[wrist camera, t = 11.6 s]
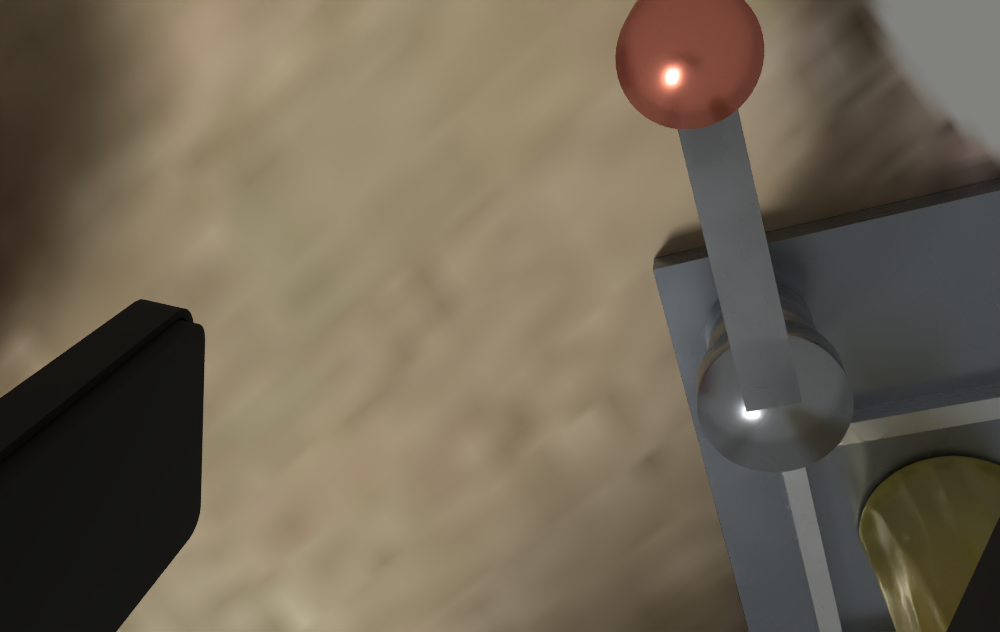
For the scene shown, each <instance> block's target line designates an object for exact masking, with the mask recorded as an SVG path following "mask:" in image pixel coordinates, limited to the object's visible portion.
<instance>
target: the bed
mask: <svg viewBox="0 0 1000 632" xmlns="http://www.w3.org/2000/svg"><path fill="white" fill-rule="evenodd" d="M765 235H766V240H767V244H768V249H769V253H770V258H771V262H772V267H773V271H774V276H775V281H776V285H777V290H778V294H779V299H780V303H781V308H782V312H783V317H784V319H787V320H792V321H796V322H799V323H802V324H804V325H806V326H809V327H811V328H813V329H814V330H816V331H817V332H819V333H820V334H821V335H823V336H824V337H825V338H826V339H827V340H828V341H829V342H830V343H831V344H832V345H833V347H834V348H835V350H836V351H837V353H838V355H839V357H840V359H841V361H842V364H843V366H844V369H845V372H846V374H847V377H848V380H849V383H850V386H851V389H852V393H853V400H854V407H853V415H852V420H851V423H850V426H849V428H848V430H847V432H846V434H845V436H844V437H843V439H842V440H841V442H840V443H839V444H838V445H837V446H836V447H835V448H834V450H833V451H831V452H830V453H829V454H828V455H826V456H825V457H824V458H822V459H821V460H819V461H817V462H815V463H813V464H811V465H809V466H807V467H804V468H801V469H797V470H793V471H787V472H761V471H756V470H751V469H748V468H745V467H742V466H740V465H737V464H735V463H733V462H731V461H730V460H728V459H727V458H725V457H724V456H723V455H721V454H720V453H719V452H718V451H717V450H716V449H715V448H714V447H713V446H712V445H711V444H710V442H709V441H708V440H707V438H706V437H705V435H704V433H703V431H702V428H701V426H700V423H699V418H698V413H697V387H696V380H697V373H698V369H699V365H700V363H701V360H702V358H703V356H704V355H705V353H706V351H707V350H708V348H709V347H710V346H711V345H712V344H713V342H714V341H716V340H717V339H718V338H719V337H720V336H721V335H722V334H724V333H725V332H727V330H726V326H725V322H724V318H723V314H722V310H721V306H720V301H719V297H718V293H717V289H716V285H715V281H714V277H713V273H712V269H711V264H710V260H709V256H708V252H707V248H706V247H702V248H697V249H693V250H689V251H684V252H680V253H676V254H671V255H667V256H663V257H658V258H654V265H653V271H654V275H655V279H656V282H657V286H658V290H659V294H660V297H661V301H662V305H663V309H664V313H665V316H666V320H667V324H668V328H669V331H670V335H671V339H672V343H673V347H674V350H675V354H676V358H677V362H678V365H679V369H680V373H681V377H682V381H683V384H684V388H685V392H686V396H687V400H688V403H689V407H690V411H691V415H692V418H693V422H694V426H695V430H696V434H697V437H698V441H699V445H700V449H701V452H702V456H703V460H704V464H705V468H706V471H707V475H708V479H709V483H710V486H711V490H712V494H713V498H714V502H715V505H716V509H717V513H718V517H719V520H720V524H721V528H722V532H723V536H724V539H725V543H726V547H727V551H728V554H729V558H730V562H731V566H732V570H733V573H734V577H735V581H736V585H737V589H738V592H739V596H740V600H741V604H742V607H743V611H744V615H745V619H746V623H747V626H748V630H749V632H896V629H895V627H894V624H893V622H892V619H891V616H890V614H889V611H888V609H887V606H886V603H885V600H884V598H883V595H882V592H881V589H880V586H879V584H878V581H877V578H876V575H875V572H874V571H873V569H872V567H871V566H870V563H869V562H868V560H867V558H866V556H865V553H864V551H863V548H862V546H861V542H860V538H859V526H860V520H861V516H862V512H863V509H864V507H865V505H866V502H867V501H868V499H869V497H870V496H871V494H872V493H873V492H874V490H875V489H876V488H877V487H878V486H879V485H880V484H881V483H882V482H883V481H884V480H885V479H887V478H888V477H889V476H891V475H892V474H893V473H895V472H896V471H898V470H900V469H902V468H904V467H906V466H908V465H910V464H913V463H915V462H918V461H922V460H925V459H929V458H935V457H942V456H965V457H971V458H976V459H981V460H985V461H988V462H991V463H994V464H997V465H999V466H1000V178H999V179H994V180H990V181H986V182H981V183H977V184H973V185H968V186H964V187H960V188H956V189H951V190H947V191H943V192H938V193H934V194H930V195H925V196H921V197H917V198H912V199H908V200H904V201H900V202H895V203H891V204H887V205H882V206H878V207H874V208H869V209H865V210H861V211H857V212H852V213H848V214H844V215H839V216H835V217H831V218H826V219H822V220H818V221H813V222H809V223H805V224H801V225H796V226H792V227H788V228H783V229H779V230H775V231H770V232H766V233H765Z"/></svg>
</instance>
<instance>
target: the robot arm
mask: <svg viewBox="0 0 1000 632" xmlns="http://www.w3.org/2000/svg"><path fill="white" fill-rule="evenodd" d="M204 357H205V332H204V329H203V327H202V326H201V325H200V324H196V323H193V318H192V315H191V313H190V312H189V311H188V310H187V309H183V308H179V307H175V306H170V305H166V304H161V303H157V302H152V301H148V300H142V299H140V300H138V301H136V302H134V303H133V304H131V305H130V306H128V307H127V308H126V309H124V310H123V311H121V312H120V313H119V314H117V315H116V316H114V317H113V318H112V319H110V320H109V321H107V322H106V323H105V324H103V325H102V326H100V327H99V328H98V329H96V330H95V331H93V332H92V333H91V334H89V335H88V336H86V337H85V338H84V339H82V340H81V341H80V342H78V343H77V344H75V345H74V346H73V347H71V348H70V349H68V350H67V351H66V352H64V353H63V354H61V355H60V356H59V357H57V358H56V359H54V360H53V361H52V362H50V363H49V364H47V365H46V366H45V367H43V368H42V369H40V370H39V371H38V372H36V373H35V374H33V375H32V376H31V377H29V378H28V379H26V380H25V381H24V382H22V383H21V384H19V385H18V386H17V387H15V388H14V389H12V390H11V391H10V392H8V393H7V394H5V395H4V396H3V397H1V398H0V632H116V631H117V630H118V629H119V628H120V626H121V625H122V624H123V622H124V621H125V620H126V619H127V617H128V616H129V615H130V613H131V612H132V611H133V610H134V608H135V607H136V606H137V605H138V603H139V602H140V601H141V599H142V598H143V597H144V596H145V594H146V593H147V592H148V591H149V589H150V588H151V587H152V585H153V584H154V583H155V582H156V580H157V579H158V578H159V577H160V575H161V574H162V573H163V571H164V570H165V569H166V568H167V566H168V565H169V564H170V563H171V561H172V560H173V559H174V557H175V556H176V555H177V554H178V552H179V551H180V550H181V549H182V547H183V546H184V545H185V543H186V542H187V541H188V540H189V538H190V537H191V535H192V534H193V531H194V529H195V527H196V525H197V522H198V519H199V514H200V507H201V474H202V435H203V396H204ZM946 632H1000V517H999V519H998V521H997V523H996V526H995V528H994V530H993V532H992V534H991V536H990V538H989V541H988V543H987V545H986V547H985V549H984V551H983V554H982V556H981V558H980V560H979V562H978V564H977V567H976V569H975V571H974V573H973V575H972V577H971V579H970V582H969V584H968V586H967V588H966V590H965V592H964V595H963V597H962V599H961V601H960V603H959V605H958V607H957V610H956V612H955V614H954V616H953V618H952V620H951V623H950V625H949V627H948V629H947V631H946Z"/></svg>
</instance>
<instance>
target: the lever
mask: <svg viewBox="0 0 1000 632" xmlns="http://www.w3.org/2000/svg"><path fill="white" fill-rule="evenodd" d="M763 60H764V41H763V35H762V31H761V27H760V24H759V22H758V20H757V18H756V16H755V14H754V12H753V11H752V9H751V8H750V7H749V5H748V4H747V3H746V2H745V1H744V0H637V1H636V3H635V4H634V6H633V8H632V10H631V12H630V13H629V15H628V17H627V19H626V21H625V23H624V25H623V27H622V29H621V32H620V35H619V38H618V42H617V47H616V69H617V75H618V79H619V82H620V85H621V87H622V89H623V91H624V93H625V95H626V97H627V98H628V100H629V101H630V103H631V104H632V105H633V106H634V107H635V108H636V109H637V110H638V111H639V112H640V113H641V114H642V115H644V116H645V117H647V118H648V119H650V120H651V121H653V122H655V123H657V124H660V125H663V126H666V127H670V128H675V129H678V133H679V137H680V141H681V145H682V149H683V153H684V157H685V161H686V166H687V170H688V174H689V178H690V182H691V186H692V190H693V194H694V198H695V203H696V207H697V211H698V215H699V219H700V223H701V227H702V231H703V236H704V240H705V244H706V248H707V252H708V256H709V260H710V264H711V269H712V273H713V277H714V281H715V285H716V289H717V293H718V297H719V301H720V306H721V310H722V314H723V318H724V322H725V326H726V330H727V332H725V333H724V334H722V335H721V336H720V337H719V338H718V339H717V340H716V341H714V342H713V344H712V345H711V346H710V347H709V348H708V350H707V351H706V353H705V355H704V356H703V358H702V360H701V363H700V365H699V369H698V373H697V380H696V387H697V413H698V418H699V423H700V426H701V428H702V431H703V433H704V435H705V437H706V438H707V440H708V441H709V442H710V444H711V445H712V446H713V447H714V448H715V449H716V450H717V451H718V452H719V453H720V454H721V455H723V456H724V457H725V458H727V459H728V460H730V461H731V462H733V463H735V464H737V465H740V466H742V467H745V468H748V469H751V470H756V471H761V472H787V471H793V470H797V469H801V468H804V467H807V466H809V465H811V464H813V463H815V462H817V461H819V460H821V459H822V458H824V457H825V456H826V455H828V454H829V453H830V452H831V451H833V450H834V448H835V447H836V446H837V445H838V444H839V443H840V442H841V440H842V439H843V437H844V436H845V434H846V432H847V430H848V428H849V426H850V423H851V420H852V415H853V407H854V400H853V393H852V389H851V386H850V383H849V380H848V377H847V374H846V372H845V369H844V366H843V364H842V361H841V359H840V357H839V355H838V353H837V351H836V350H835V348H834V347H833V345H832V344H831V343H830V342H829V341H828V340H827V339H826V338H825V337H824V336H823V335H821V334H820V333H819V332H817V331H816V330H814V329H813V328H811V327H809V326H806V325H804V324H802V323H799V322H796V321H792V320H787V319H784V317H783V312H782V308H781V303H780V299H779V294H778V290H777V285H776V281H775V276H774V271H773V267H772V262H771V258H770V253H769V249H768V244H767V240H766V235H765V231H764V226H763V221H762V217H761V212H760V208H759V203H758V199H757V194H756V190H755V185H754V181H753V176H752V171H751V167H750V162H749V158H748V153H747V149H746V144H745V140H744V135H743V131H742V126H741V121H740V117H739V112H738V108H739V107H740V106H741V105H742V104H743V103H744V102H745V101H746V100H747V98H748V97H749V96H750V94H751V93H752V91H753V89H754V88H755V86H756V84H757V82H758V79H759V77H760V74H761V70H762V66H763Z"/></svg>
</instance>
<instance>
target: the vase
mask: <svg viewBox="0 0 1000 632" xmlns="http://www.w3.org/2000/svg"><path fill="white" fill-rule="evenodd" d="M999 517H1000V466H999V465H997V464H994V463H991V462H988V461H985V460H981V459H976V458H971V457H965V456H942V457H935V458H929V459H925V460H922V461H918V462H915V463H913V464H910V465H908V466H906V467H904V468H902V469H900V470H898V471H896V472H895V473H893V474H892V475H891V476H889V477H888V478H887V479H885V480H884V481H883V482H882V483H881V484H880V485H879V486H878V487H877V488H876V489H875V490H874V492H873V493H872V494H871V496H870V497H869V499H868V501H867V502H866V505H865V507H864V509H863V512H862V516H861V520H860V526H859V538H860V542H861V546H862V548H863V551H864V553H865V556H866V558H867V560H868V562H869V563H870V566H871V567H872V569H873V571H874V572H875V575H876V578H877V581H878V584H879V586H880V589H881V592H882V595H883V598H884V600H885V603H886V606H887V609H888V611H889V614H890V616H891V619H892V622H893V624H894V627H895V629H896V632H946V631H947V629H948V627H949V625H950V623H951V620H952V618H953V616H954V614H955V612H956V610H957V607H958V605H959V603H960V601H961V599H962V597H963V595H964V592H965V590H966V588H967V586H968V584H969V582H970V579H971V577H972V575H973V573H974V571H975V569H976V567H977V564H978V562H979V560H980V558H981V556H982V554H983V551H984V549H985V547H986V545H987V543H988V541H989V538H990V536H991V534H992V532H993V530H994V528H995V526H996V523H997V521H998V519H999Z"/></svg>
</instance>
